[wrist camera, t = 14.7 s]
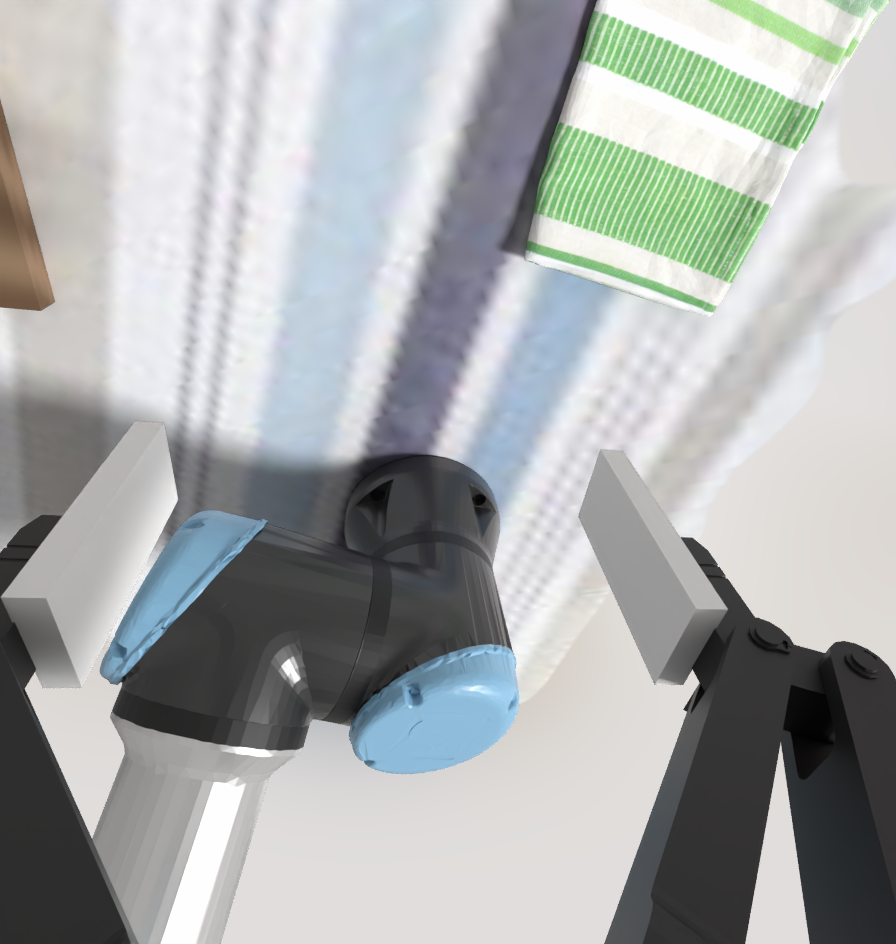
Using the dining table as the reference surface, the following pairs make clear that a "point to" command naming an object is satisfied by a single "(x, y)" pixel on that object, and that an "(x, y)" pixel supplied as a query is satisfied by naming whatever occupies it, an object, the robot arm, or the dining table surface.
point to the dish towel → (684, 138)
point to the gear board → (18, 238)
